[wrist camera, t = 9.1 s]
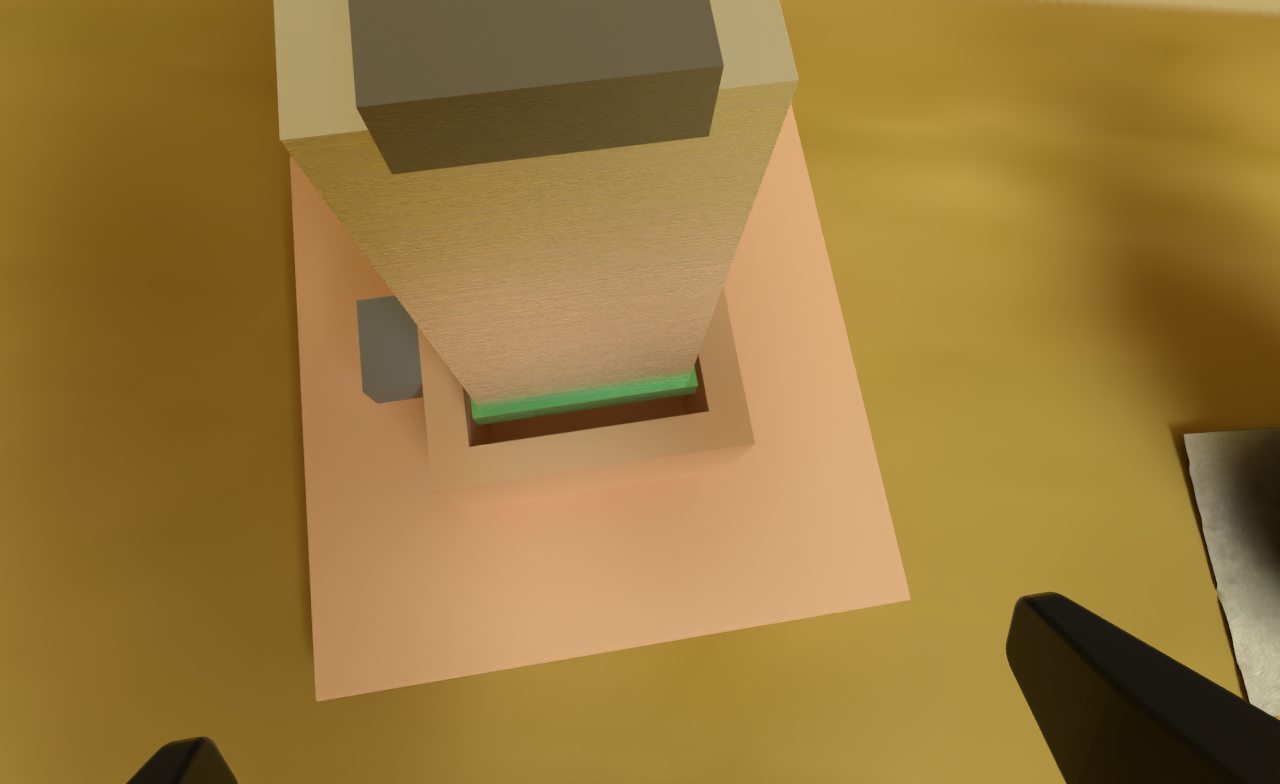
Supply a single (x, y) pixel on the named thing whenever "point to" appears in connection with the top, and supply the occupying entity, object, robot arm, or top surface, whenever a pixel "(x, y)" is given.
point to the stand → (582, 475)
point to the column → (542, 175)
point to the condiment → (1244, 545)
